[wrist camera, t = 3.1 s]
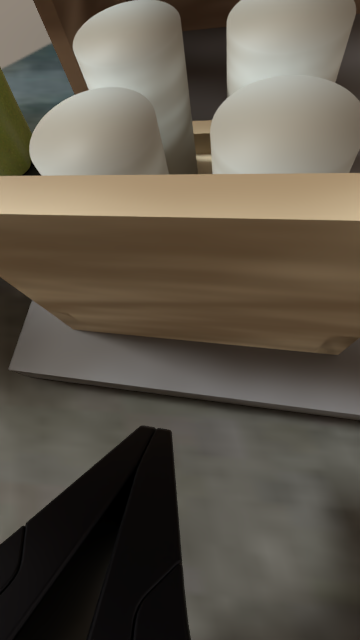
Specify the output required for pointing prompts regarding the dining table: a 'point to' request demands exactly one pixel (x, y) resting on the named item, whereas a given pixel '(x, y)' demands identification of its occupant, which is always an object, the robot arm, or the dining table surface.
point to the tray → (198, 185)
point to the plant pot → (12, 134)
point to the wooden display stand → (181, 355)
